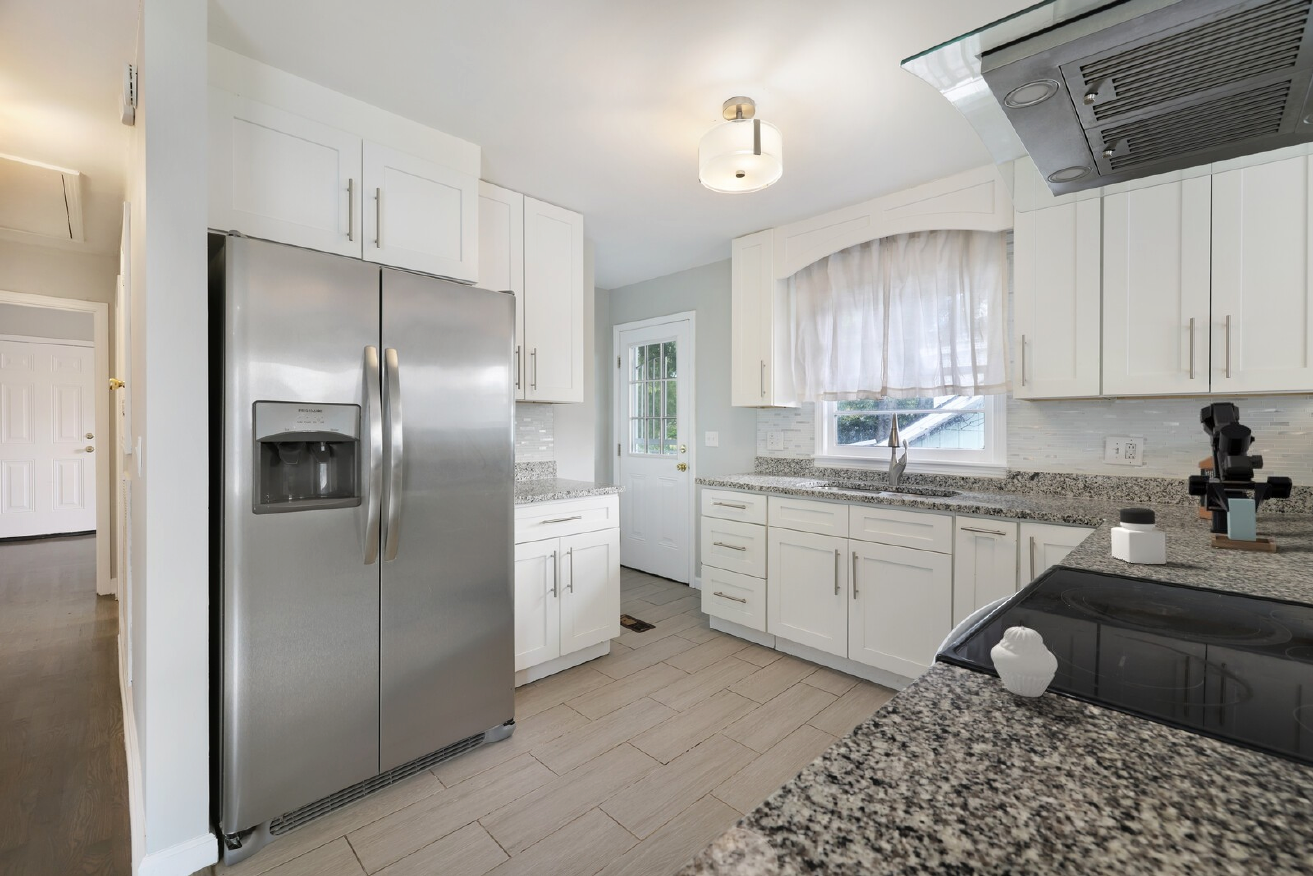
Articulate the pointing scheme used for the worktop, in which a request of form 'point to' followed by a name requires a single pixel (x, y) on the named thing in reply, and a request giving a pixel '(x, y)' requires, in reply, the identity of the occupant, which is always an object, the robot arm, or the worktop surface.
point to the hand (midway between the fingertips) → (1241, 511)
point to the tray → (1244, 544)
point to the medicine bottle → (1138, 537)
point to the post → (1241, 519)
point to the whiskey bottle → (1208, 469)
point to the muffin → (1024, 662)
